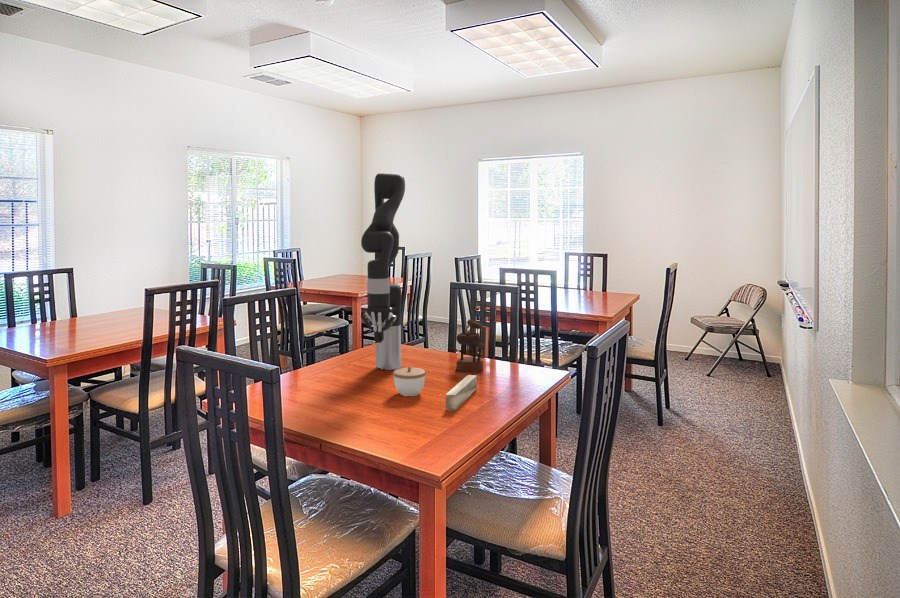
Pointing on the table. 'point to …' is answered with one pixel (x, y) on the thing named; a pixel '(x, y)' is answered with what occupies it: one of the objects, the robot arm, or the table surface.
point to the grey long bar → (461, 392)
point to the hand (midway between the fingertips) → (379, 342)
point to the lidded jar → (409, 380)
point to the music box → (469, 339)
